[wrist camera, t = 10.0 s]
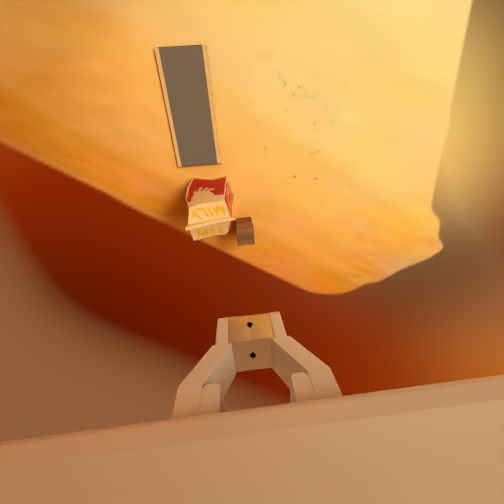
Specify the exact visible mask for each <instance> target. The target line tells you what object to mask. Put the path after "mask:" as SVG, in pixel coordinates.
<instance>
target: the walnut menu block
mask: <svg viewBox="0 0 504 504" xmlns="http://www.w3.org/2000/svg"><path fill="white" fill-rule="evenodd" d="M236 232H237V241H238V246H242V245H252V244H255V242H254V228H253V225H252V221H251V217H247V218H236Z"/></svg>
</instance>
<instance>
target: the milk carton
mask: <svg viewBox="0 0 504 504" xmlns="http://www.w3.org/2000/svg"><path fill="white" fill-rule="evenodd" d="M233 197H234V194H233V191H232V189H231V186H230V184H229V181H228V179H227V176H226V177H221V178H217V179H201V178H192V180H191V182H190V184H189V185H188V187H187V192H186V198H185V200H186V204H187V208H188V212H189V216H188V225H187V226H186V227H185V230H186V231H187V230H190V232H191V235H192V237H193V240H194V241H195V240H198V239H202V238H206V237H210V236H214V235H224V234H227V232H228V231H229V229H230V225H231V221H233V220H236V218H231V214H232V204H233Z"/></svg>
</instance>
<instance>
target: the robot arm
mask: <svg viewBox="0 0 504 504" xmlns="http://www.w3.org/2000/svg"><path fill="white" fill-rule="evenodd" d="M263 368H273V369H274V370H275V372H276V373H277V374H278V375H279V376H280V378H281V379H282V380H283V381H284V382H285V384H286V385H287V386H288V387H289V388H290V389H291V403H288V404H281V405H274V406H266V407H259V408H251V409H244V410H236V411H229V412H225V407H224V402H223V398H224V396H225V394H226V392H227V390H228V388H229V386H230V384H231V382H232V380H233V378H234V377H235V375H236V372H240V371H247V370H253V369H263ZM0 504H504V375H497V376H490V377H482V378H475V379H467V380H460V381H452V382H445V383H437V384H430V385H422V386H415V387H408V388H400V389H392V390H385V391H377V392H370V393H362V394H355V395H348V396H342V394H341V392H340V389H339V387H338V385H337V382H336V380H335V378H334V376H333V373H332V371H331V369H330V367H328V366H327V365H326V364H324V363H323V362H322V361H321V360H319V359H318V358H317V357H316V356H314V355H313V354H312V353H310V352H309V351H308V350H307V349H305V348H304V347H303V346H301V345H300V344H299V343H298V342H297V341H295V340H294V339H293V338H292V337H290V336H287V335H286V332H285V329H284V325H283V322H282V319H281V316H280V313H279V312H271V313H265V314H257V315H249V316H238V317H229V318H220V319H218V323H217V336H216V345H213V346H212V347H211V348H210V349H209V350H208V352H207V353H206V354H205V355H204V356H203V358H202V359H201V360H200V361H199V363H198V364H197V365H196V366H195V368H194V369H193V370H192V371H191V372H190V374H189V375H188V376H187V377H186V378H185V380H184V381H183V382H182V383H181V385H180V386H179V387H178V392H177V396H176V400H175V405H174V409H173V414H172V418H171V419H169V420H161V421H154V422H146V423H139V424H132V425H125V426H117V427H109V428H102V429H95V430H87V431H79V432H72V433H65V434H57V435H50V436H42V437H35V438H27V439H20V440H13V441H5V442H0Z"/></svg>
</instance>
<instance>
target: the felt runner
mask: <svg viewBox="0 0 504 504" xmlns="http://www.w3.org/2000/svg"><path fill="white" fill-rule="evenodd" d="M154 50H155V55H156V60H157V65H158V70H159V74H160V79H161V84H162V89H163V94H164V99H165V104H166V109H167V114H168V119H169V124H170V129H171V134H172V139H173V144H174V149H175V154H176V159H177V164H178V167H182V166H195V165H207V164H219V163H221V160H220V152H219V144H218V136H217V128H216V120H215V112H214V103H213V95H212V87H211V79H210V71H209V63H208V55H207V47H206V44H205V45H189V46H172V47H154Z"/></svg>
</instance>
